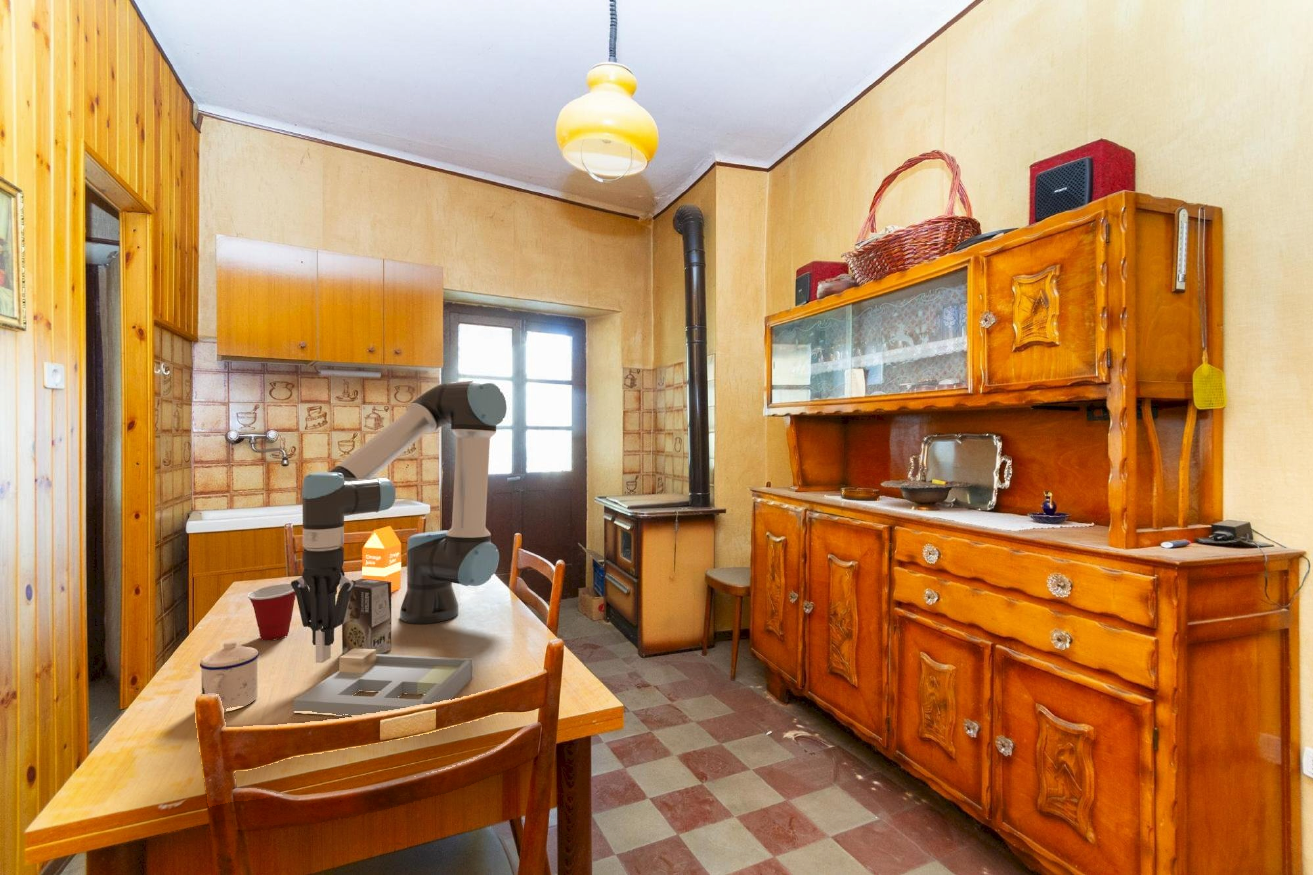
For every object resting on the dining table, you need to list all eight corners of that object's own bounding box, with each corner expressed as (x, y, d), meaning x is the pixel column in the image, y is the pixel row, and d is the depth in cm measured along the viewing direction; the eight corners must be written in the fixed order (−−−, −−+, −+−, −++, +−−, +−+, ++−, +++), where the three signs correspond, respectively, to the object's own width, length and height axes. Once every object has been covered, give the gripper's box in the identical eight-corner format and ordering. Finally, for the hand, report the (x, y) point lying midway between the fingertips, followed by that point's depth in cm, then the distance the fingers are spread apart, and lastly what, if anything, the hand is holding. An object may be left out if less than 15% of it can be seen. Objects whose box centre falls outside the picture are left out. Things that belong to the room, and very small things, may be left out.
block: (353, 662, 128) (353, 648, 128) (376, 663, 127) (376, 649, 127) (339, 671, 123) (339, 657, 123) (362, 673, 122) (362, 658, 122)
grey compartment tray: (355, 671, 129) (355, 652, 129) (472, 677, 127) (472, 658, 126) (291, 714, 110) (291, 693, 110) (428, 723, 107) (428, 701, 107)
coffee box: (392, 649, 142) (393, 581, 142) (371, 659, 136) (371, 588, 135) (362, 644, 145) (362, 577, 145) (340, 653, 139) (340, 584, 138)
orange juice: (361, 594, 187) (362, 529, 186) (379, 586, 195) (379, 525, 195) (384, 595, 185) (385, 531, 185) (401, 588, 194) (401, 526, 194)
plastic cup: (241, 636, 149) (241, 588, 148) (291, 626, 157) (290, 580, 156) (253, 648, 141) (253, 597, 141) (305, 636, 149) (304, 588, 149)
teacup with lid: (213, 695, 117) (213, 635, 117) (266, 690, 119) (266, 632, 119) (182, 725, 105) (181, 659, 105) (241, 719, 108) (241, 654, 108)
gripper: (281, 549, 122) (281, 665, 122) (342, 552, 121) (341, 669, 121) (306, 542, 129) (306, 651, 130) (363, 544, 128) (363, 654, 128)
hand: (323, 660), depth 125 cm, fingers closed
